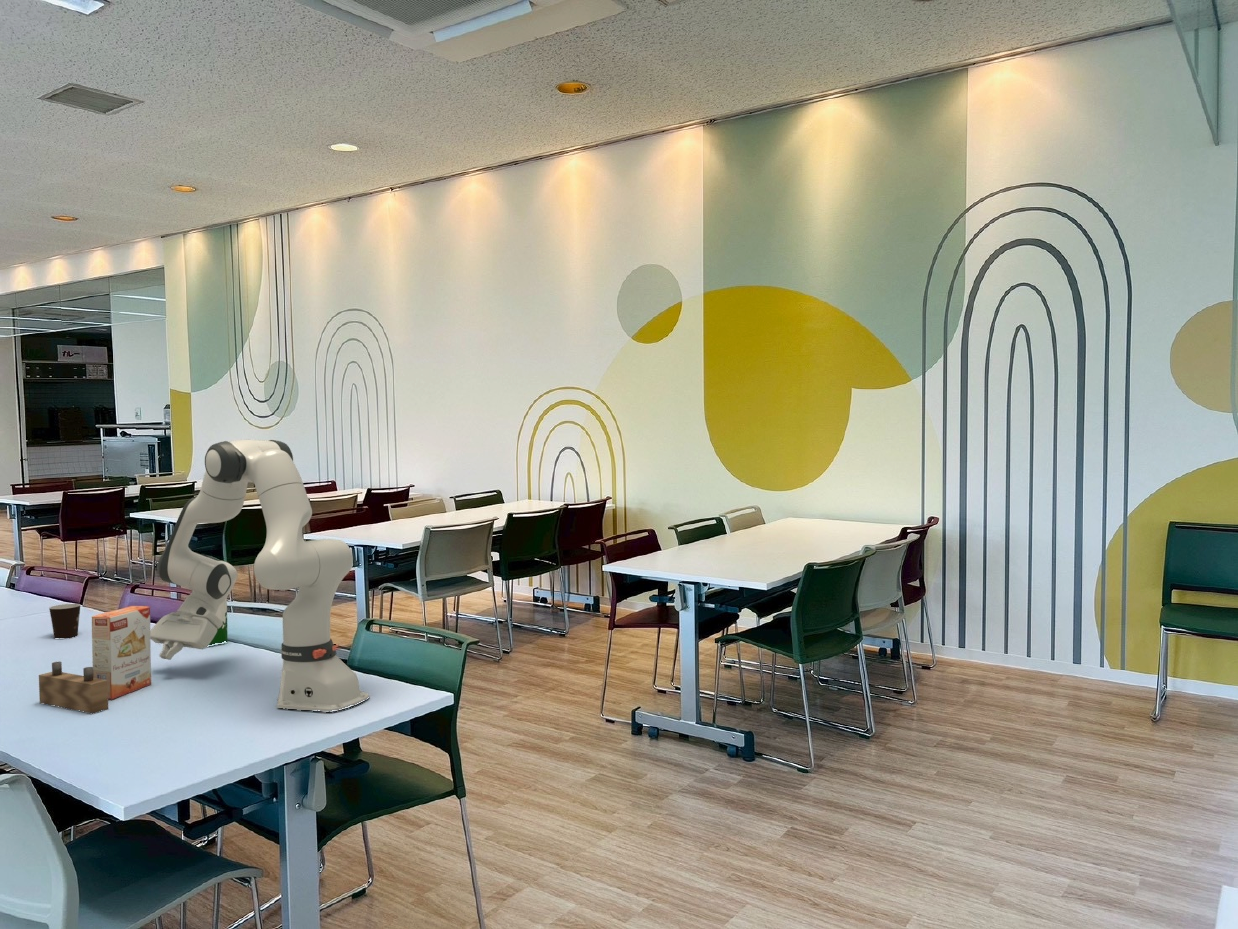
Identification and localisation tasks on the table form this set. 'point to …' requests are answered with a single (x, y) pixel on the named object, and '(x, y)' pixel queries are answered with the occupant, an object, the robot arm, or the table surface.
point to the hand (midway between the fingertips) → (164, 658)
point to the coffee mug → (65, 620)
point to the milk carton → (222, 631)
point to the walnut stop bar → (73, 690)
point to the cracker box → (122, 649)
